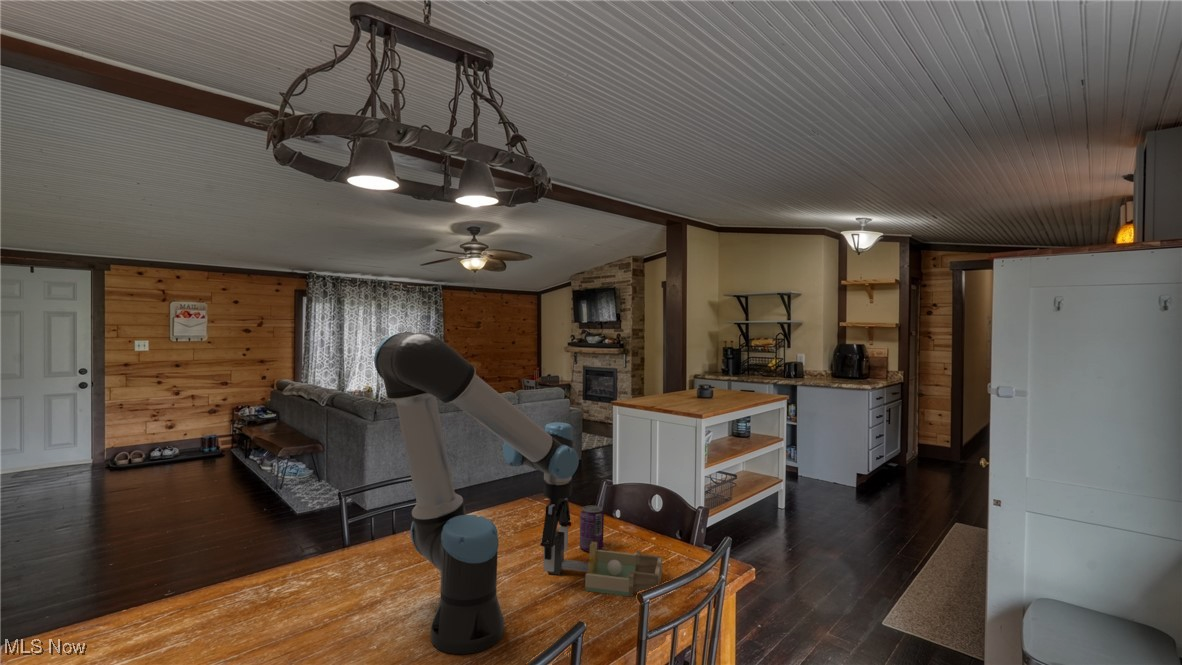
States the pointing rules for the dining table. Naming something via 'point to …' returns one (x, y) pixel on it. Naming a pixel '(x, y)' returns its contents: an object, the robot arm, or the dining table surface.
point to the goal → (645, 573)
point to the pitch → (604, 580)
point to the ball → (614, 568)
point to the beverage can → (591, 527)
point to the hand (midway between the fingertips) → (555, 559)
